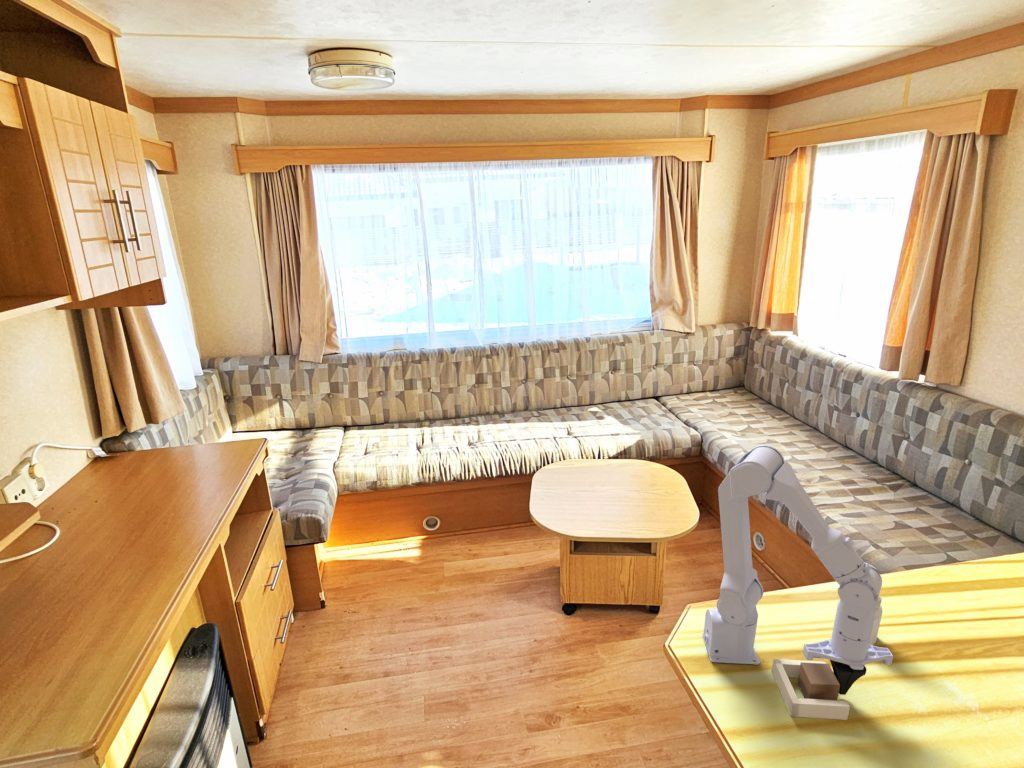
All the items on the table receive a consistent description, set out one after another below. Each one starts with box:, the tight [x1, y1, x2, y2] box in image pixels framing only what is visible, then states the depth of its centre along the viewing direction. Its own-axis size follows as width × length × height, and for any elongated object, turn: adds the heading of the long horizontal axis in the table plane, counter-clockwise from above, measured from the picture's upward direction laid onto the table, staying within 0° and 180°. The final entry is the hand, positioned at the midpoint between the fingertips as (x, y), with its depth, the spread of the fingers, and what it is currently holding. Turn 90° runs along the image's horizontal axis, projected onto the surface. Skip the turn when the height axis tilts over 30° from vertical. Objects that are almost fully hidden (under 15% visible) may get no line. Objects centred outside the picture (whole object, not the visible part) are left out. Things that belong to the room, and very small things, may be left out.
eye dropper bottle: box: [869, 595, 883, 646], centre depth 120 cm, size 4×6×12 cm
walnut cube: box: [797, 662, 840, 701], centre depth 108 cm, size 5×5×5 cm
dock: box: [771, 658, 851, 721], centre depth 109 cm, size 10×10×3 cm
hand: (840, 690), depth 108 cm, fingers closed
